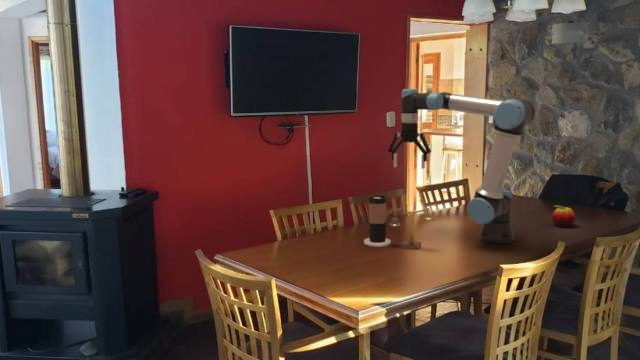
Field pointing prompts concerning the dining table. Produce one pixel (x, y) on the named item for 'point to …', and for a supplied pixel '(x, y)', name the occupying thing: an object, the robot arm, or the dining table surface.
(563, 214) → the fruit
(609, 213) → the dining table surface
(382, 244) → the cream round disc
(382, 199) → the travel mug
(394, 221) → the balance
